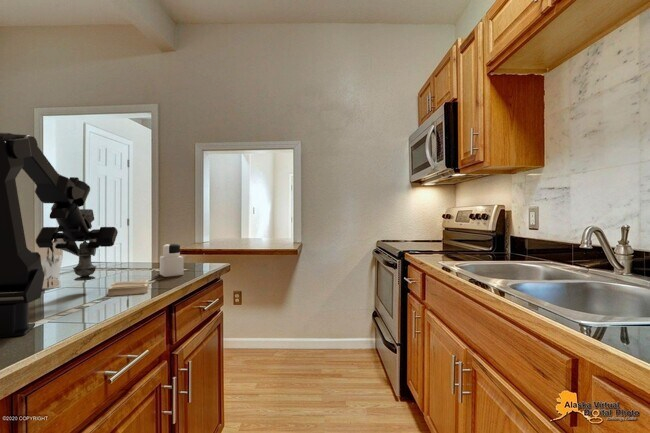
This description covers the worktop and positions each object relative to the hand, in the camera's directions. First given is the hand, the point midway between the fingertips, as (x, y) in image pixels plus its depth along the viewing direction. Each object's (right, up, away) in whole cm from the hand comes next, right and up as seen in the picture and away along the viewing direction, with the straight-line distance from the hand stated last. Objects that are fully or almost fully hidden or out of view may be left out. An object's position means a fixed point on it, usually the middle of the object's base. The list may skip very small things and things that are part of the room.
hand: (87, 254), depth 102 cm
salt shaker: (0, -7, -1) cm, 7 cm away
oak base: (+12, -11, +1) cm, 17 cm away
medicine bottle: (+13, -11, +29) cm, 34 cm away
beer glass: (-16, -11, +5) cm, 20 cm away
